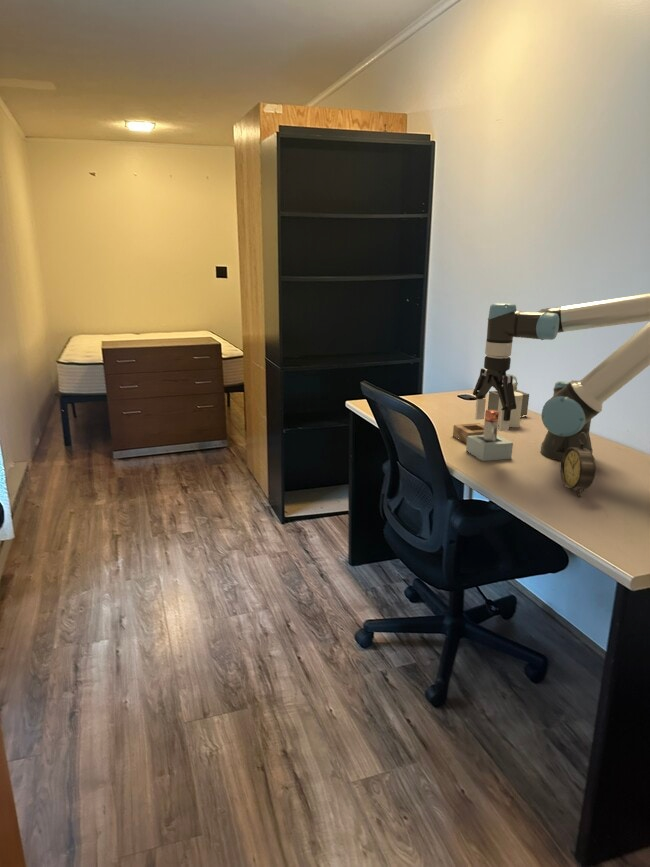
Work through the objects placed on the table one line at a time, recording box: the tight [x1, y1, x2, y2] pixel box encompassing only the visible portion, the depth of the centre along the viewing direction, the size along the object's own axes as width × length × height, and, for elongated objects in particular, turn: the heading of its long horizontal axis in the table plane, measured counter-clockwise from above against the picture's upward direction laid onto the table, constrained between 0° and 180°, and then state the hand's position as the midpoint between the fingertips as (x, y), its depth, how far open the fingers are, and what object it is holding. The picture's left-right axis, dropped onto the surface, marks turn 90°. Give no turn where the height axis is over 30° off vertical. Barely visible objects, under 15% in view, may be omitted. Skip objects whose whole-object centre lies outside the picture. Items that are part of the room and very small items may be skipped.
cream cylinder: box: [498, 392, 523, 428], centre depth 217 cm, size 8×8×12 cm
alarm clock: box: [559, 432, 597, 498], centre depth 154 cm, size 11×5×16 cm, turn 3°
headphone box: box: [487, 389, 530, 416], centre depth 232 cm, size 8×12×9 cm
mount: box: [452, 422, 484, 445], centre depth 200 cm, size 10×10×4 cm
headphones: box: [502, 373, 519, 392], centre depth 228 cm, size 8×4×20 cm
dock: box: [465, 434, 514, 462], centre depth 184 cm, size 10×10×5 cm
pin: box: [483, 409, 499, 443], centre depth 183 cm, size 4×4×14 cm
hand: (491, 424), depth 182 cm, fingers open, 13 cm apart
